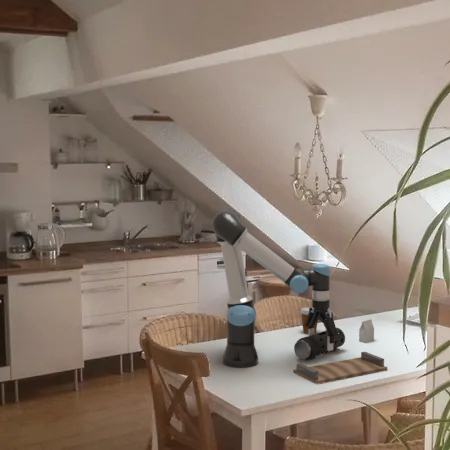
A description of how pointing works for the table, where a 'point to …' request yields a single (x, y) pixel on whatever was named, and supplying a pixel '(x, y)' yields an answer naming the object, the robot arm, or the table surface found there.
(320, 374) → the mounting board
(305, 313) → the disposable coffee cup
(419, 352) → the table surface
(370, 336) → the grey paper bag
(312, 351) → the muzzle brake
